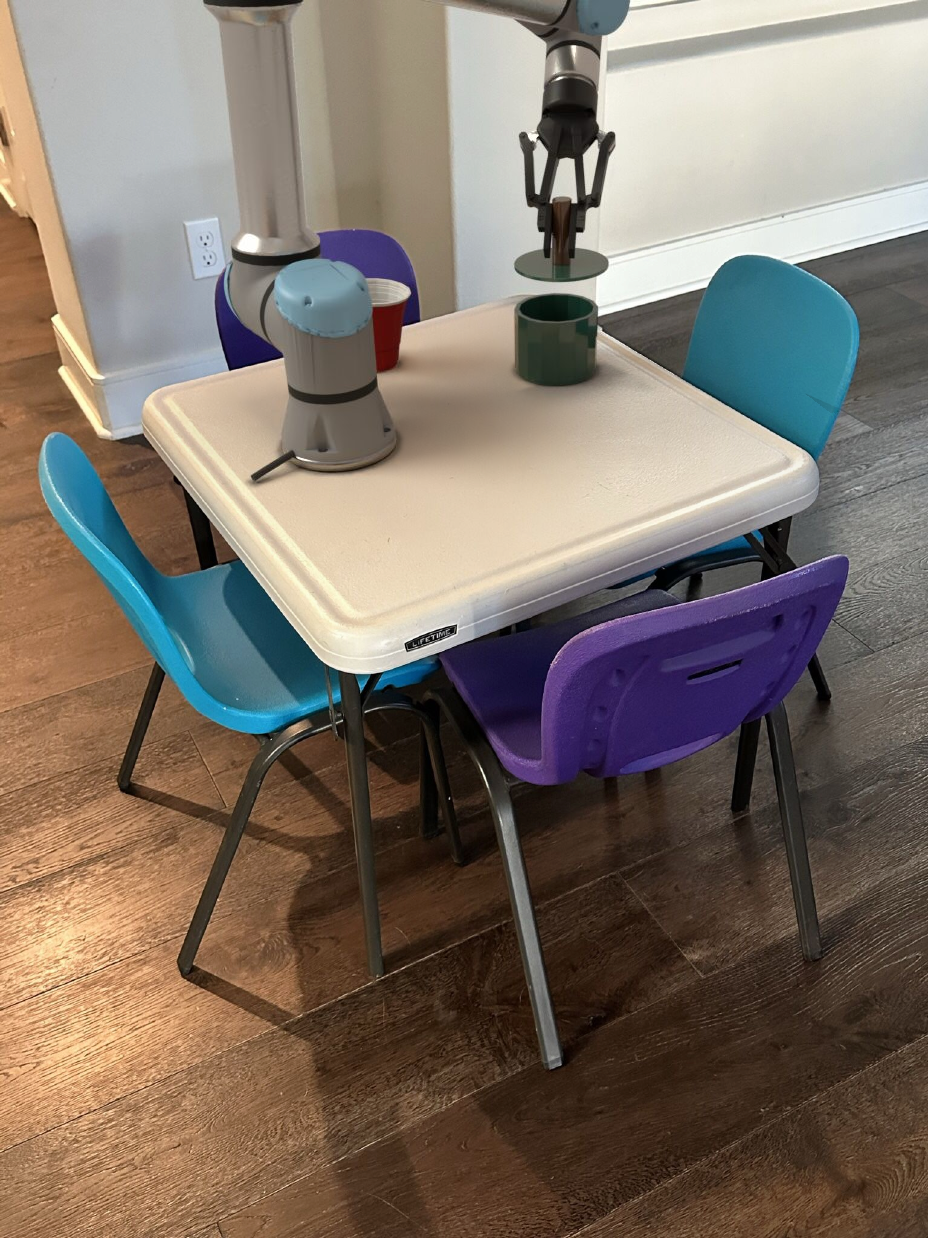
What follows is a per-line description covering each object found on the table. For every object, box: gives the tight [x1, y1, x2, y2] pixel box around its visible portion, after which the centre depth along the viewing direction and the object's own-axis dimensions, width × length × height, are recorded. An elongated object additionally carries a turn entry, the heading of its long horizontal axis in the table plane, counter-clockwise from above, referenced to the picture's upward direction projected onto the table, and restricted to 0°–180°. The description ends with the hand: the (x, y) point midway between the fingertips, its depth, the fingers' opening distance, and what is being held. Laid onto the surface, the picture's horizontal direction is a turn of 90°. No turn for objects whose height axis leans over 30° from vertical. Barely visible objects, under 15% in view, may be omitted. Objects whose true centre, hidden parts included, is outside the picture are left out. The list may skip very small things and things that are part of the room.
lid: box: [513, 195, 610, 283], centre depth 153 cm, size 13×13×10 cm
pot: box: [513, 292, 599, 387], centre depth 167 cm, size 12×12×10 cm
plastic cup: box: [365, 277, 412, 373], centre depth 170 cm, size 11×11×12 cm
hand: (559, 253), depth 150 cm, fingers closed on lid, 3 cm apart
